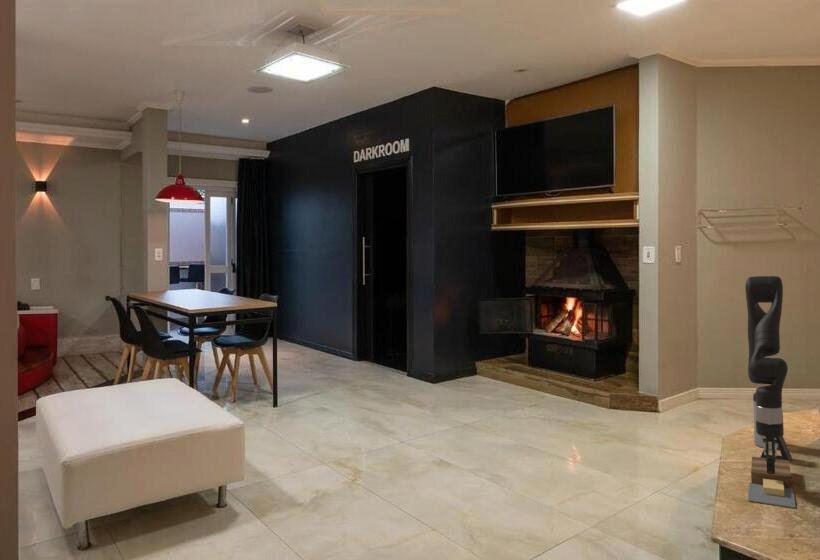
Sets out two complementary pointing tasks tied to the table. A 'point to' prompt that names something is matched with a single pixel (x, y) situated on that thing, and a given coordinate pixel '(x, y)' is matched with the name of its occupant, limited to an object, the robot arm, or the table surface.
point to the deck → (761, 472)
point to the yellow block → (773, 487)
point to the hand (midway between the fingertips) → (770, 473)
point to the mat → (771, 496)
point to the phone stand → (781, 450)
